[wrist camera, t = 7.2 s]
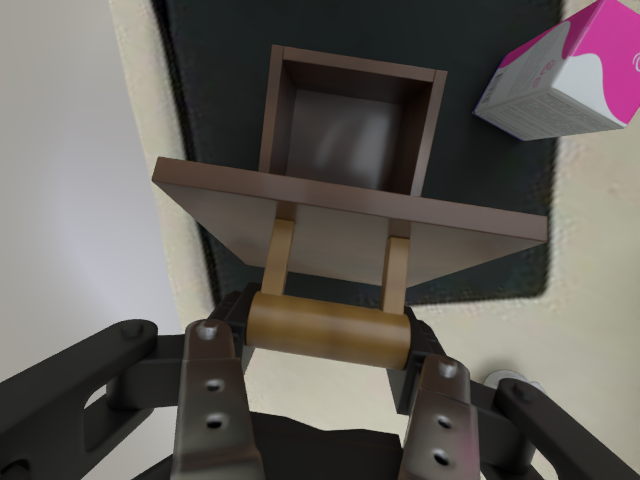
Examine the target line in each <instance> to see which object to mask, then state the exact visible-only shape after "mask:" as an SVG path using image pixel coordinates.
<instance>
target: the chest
mask: <svg viewBox="0 0 640 480" xmlns="http://www.w3.org/2000/svg"><path fill="white" fill-rule="evenodd" d="M447 73H448V72H447V71H442V70H435V69H428V68H422V67H415V66H409V65H402V64H396V63H389V62H383V61H376V60H370V59H363V58H357V57H350V56H344V55H337V54H331V53H324V52H318V51H311V50H305V49H298V48H291V47H284V46H279V45H272V49H271V58H270V68H269V77H268V86H267V95H266V105H265V114H264V123H263V132H262V142H261V151H260V160H259V169H258V172H262V173H269V174H275V175H281V176H288V177H294V178H301V179H307V180H314V181H320V182H327V183H333V184H340V185H346V186H352V187H359V188H365V189H372V190H378V191H385V192H391V193H398V194H404V195H411V196H417V197H421V193H422V189H423V184H424V179H425V175H426V170H427V165H428V161H429V156H430V152H431V147H432V142H433V138H434V133H435V128H436V124H437V119H438V115H439V110H440V105H441V101H442V96H443V91H444V87H445V82H446V78H447Z"/></svg>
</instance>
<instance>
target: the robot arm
mask: <svg viewBox="0 0 640 480" xmlns="http://www.w3.org/2000/svg"><path fill="white" fill-rule="evenodd" d="M261 288H262V284H261V283H255V282H249V283H248V285H247V286H246V288H245V289H244V291H243V292H237V291H234V292H232V293H229V294H227V295H225V297H224V298H223V299H222V300H221V302H220V303H219V304H218V306H217V307H216V308H215V309H214V311H213V312H212V313H211V314H210V316H209V317H208V318H207V319H202V320H197V321H194V322H192V323H191V324H189V325H188V326H187V327H186V330H185V334H180V335H158V327H157V325H156V324H155V323H153V322H151V321H148V320H142V319H132V320H126V321H121V322H118V323H116V324H113V325H111V326H109V327H107V328H105V329H104V330H102V331H100V332H98V333H96V334H94V335H92V336H90V337H88V338H86V339H84V340H82V341H80V342H78V343H76V344H74V345H73V346H71V347H69V348H67V349H65V350H63V351H61V352H59V353H57V354H55V355H53V356H51V357H49V358H47V359H45V360H43V361H42V362H40V363H38V364H36V365H34V366H32V367H30V368H28V369H26V370H24V371H22V372H20V373H18V374H16V375H14V376H12V377H11V378H9V379H7V380H5V381H3V382H1V383H0V480H81V479H82V478H83V477H84V476H85V475H86V474H87V473H88V472H89V471H90V470H91V469H93V468H94V467H95V466H96V465H97V464H98V463H99V462H100V461H101V460H102V459H103V458H104V457H105V456H107V455H108V454H109V453H110V452H111V451H112V450H113V449H114V448H115V447H116V446H117V445H118V444H119V443H120V442H122V441H123V440H124V439H125V438H126V437H127V436H128V435H129V434H130V433H131V432H132V431H133V430H134V429H136V428H137V427H138V426H139V425H140V424H141V423H142V422H143V421H144V420H145V419H146V418H147V417H148V416H149V415H150V414H151V413H152V412H153V410H154V408H157V407H169V406H178V409H177V420H176V430H175V441H174V452H173V454H171V455H170V456H168V457H167V458H165V459H163V460H162V461H160V462H159V463H157V464H155V465H154V466H152V467H151V468H149V469H147V470H146V471H144V472H143V473H141V474H139V475H138V476H136V477H135V478H133V479H131V480H480V471H481V472H482V474H483V475H484V477H485V478H486V480H544V479H543V478H542V476H541V475H540V474H539V473H538V472H537V471H536V470H535V468H534V467H533V466H532V465H531V464H530V463H531V461H532V458H533V455H534V453H535V450H536V448H537V449H538V450H539V451H540V453H541V454H542V455H543V456H544V457H545V458H546V459H547V460H548V461H549V462H550V463H551V465H552V466H553V467H554V469H555V471H556V473H557V475H558V479H559V480H640V475H639V474H637V473H636V472H635V471H634V470H633V469H632V468H630V467H629V466H628V465H627V464H626V463H625V462H623V461H622V460H621V459H620V458H619V457H618V456H617V455H615V454H614V453H613V452H612V451H611V450H610V449H608V448H607V447H606V446H605V445H604V444H603V443H601V442H600V441H599V440H598V439H597V438H596V437H594V436H593V435H592V434H591V433H590V432H589V431H587V430H586V429H585V428H584V427H583V426H582V425H580V424H579V423H578V422H577V421H576V420H575V419H573V418H572V417H571V416H570V415H569V414H568V413H567V412H565V411H564V410H563V409H562V408H561V407H560V406H558V405H557V404H556V403H555V402H554V401H553V400H551V399H550V398H549V397H548V396H547V395H546V394H544V393H543V392H542V391H541V390H539V389H538V388H536V387H535V386H533V385H531V384H529V383H527V382H524V381H521V380H518V379H514V378H502V379H500V380H499V383H498V386H497V389H494V388H491V387H488V386H485V385H482V384H479V383H477V382H474V381H472V380H470V372H469V370H468V369H467V368H466V367H465V366H464V365H463V364H462V363H460V362H459V361H457V360H455V359H453V358H451V357H448V356H447V355H446V353H445V352H444V350H443V348H442V346H441V344H440V343H439V341H438V339H437V337H436V336H435V334H434V332H433V330H432V329H431V327H430V326H428V325H427V324H426V323H425V322H423V321H421V320H417V319H416V317H415V315H414V313H413V311H412V309H411V307H407V306H404V312H403V314H406V315H407V316H408V318H409V322H410V328H411V342H410V350H409V356H408V359H407V362H406V365H405V367H404V368H403V369H402V370H393V369H387V368H386V370H387V374H388V379H389V383H390V387H391V391H392V395H393V399H394V403H395V407H396V411H397V414H402V415H408V416H409V422H408V426H407V430H406V434H405V439H404V443H403V447H401V443H400V439H399V435H397V434H391V433H385V432H378V431H372V430H366V429H350V430H331V431H324V430H320V429H317V428H314V427H312V426H309V425H306V424H304V423H301V422H298V421H296V420H293V419H290V418H287V417H284V416H277V415H271V414H265V413H258V412H252V411H249V405H248V399H247V393H246V387H245V381H244V374H245V371H246V369H247V367H248V364H249V362H250V359H251V357H252V355H253V352H254V350H255V348H253V347H248V346H247V345H246V327H247V320H248V315H249V311H250V307H251V304H252V300H253V298H254V296H255V294H256V292H257V291H261ZM105 384H106V394H104V395H103V396H102V397H100V398H99V399H98V400H96V401H95V402H93V403H92V404H91V405H89V406H88V407H87V408H85V409H84V407H85V404H86V402H87V401H88V399H89V398H90V396H91V395H92V394H93V393H94V392H95V391H97V390H98V389H99V388H101V387H102V386H104V385H105Z"/></svg>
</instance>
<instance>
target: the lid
mask: <svg viewBox="0 0 640 480" xmlns="http://www.w3.org/2000/svg"><path fill="white" fill-rule="evenodd" d="M152 182H154V183H155V184H156V185H157V186H158V187H159V188H160V189H162V190H163V191H164V192H165V193H166V194H167V195H168V196H169V197H171V198H172V199H173V200H174V201H175V202H176V203H177V204H179V205H180V206H181V207H182V208H183V209H184V210H185V211H186V212H188V213H189V214H190V215H191V216H192V217H193V218H194V219H196V220H197V221H198V222H199V223H200V224H201V225H202V226H203V227H205V228H206V229H207V230H208V231H209V232H210V233H211V234H212V235H214V236H215V237H216V238H217V239H218V240H219V241H220V242H222V243H223V244H224V245H225V246H226V247H227V248H228V249H229V250H231V251H232V252H233V253H234V254H235V255H236V256H237V257H239V258H240V259H241V260H242V261H243V262H244V263H245V264H247V265H252V266H259V267H265V272H264V277H263V282H262V288H261V291H257V292H256V294H255V296H254V298H253V300H252V304H251V307H250V311H249V315H248V320H247V327H246V345H247V346H248V347H253V348H260V349H266V350H272V351H279V352H285V353H291V354H298V355H304V356H311V357H317V358H323V359H330V360H336V361H342V362H349V363H355V364H362V365H368V366H374V367H381V368H387V369H393V370H402V369H403V368H404V367H405V365H406V362H407V359H408V356H409V350H410V342H411V328H410V322H409V318H408V316H407V315H406V314H403V312H404V301H405V291H406V288H408V287H411V286H414V285H417V284H420V283H423V282H426V281H429V280H432V279H435V278H438V277H441V276H444V275H447V274H450V273H454V272H457V271H460V270H463V269H466V268H469V267H472V266H475V265H478V264H481V263H484V262H487V261H490V260H493V259H497V258H500V257H503V256H506V255H509V254H512V253H515V252H518V251H521V250H524V249H527V248H530V247H533V246H536V245H539V244H543V243H546V242H547V217H546V216H540V215H533V214H527V213H520V212H514V211H507V210H501V209H494V208H488V207H481V206H475V205H469V204H462V203H456V202H449V201H443V200H436V199H430V198H423V197H417V196H411V195H404V194H398V193H391V192H385V191H378V190H372V189H365V188H359V187H352V186H346V185H340V184H333V183H327V182H320V181H314V180H307V179H301V178H294V177H288V176H281V175H275V174H269V173H262V172H256V171H249V170H243V169H236V168H230V167H223V166H217V165H211V164H204V163H198V162H191V161H185V160H178V159H172V158H165V157H158V159H157V162H156V166H155V169H154V173H153V176H152ZM288 271H291V272H297V273H303V274H310V275H316V276H323V277H329V278H335V279H342V280H348V281H355V282H361V283H367V284H374V285H380V286H381V293H380V302H379V310H377V309H371V308H365V307H358V306H352V305H345V304H339V303H333V302H326V301H320V300H314V299H307V298H301V297H294V296H288V295H284V289H285V284H286V278H287V272H288Z"/></svg>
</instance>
